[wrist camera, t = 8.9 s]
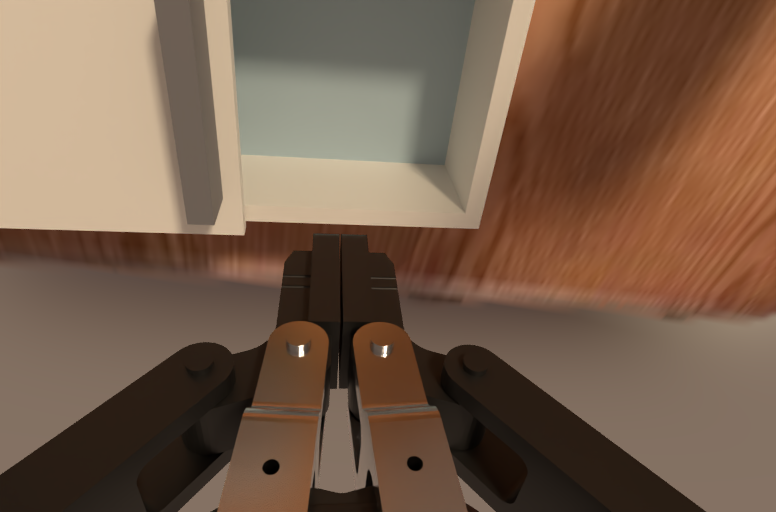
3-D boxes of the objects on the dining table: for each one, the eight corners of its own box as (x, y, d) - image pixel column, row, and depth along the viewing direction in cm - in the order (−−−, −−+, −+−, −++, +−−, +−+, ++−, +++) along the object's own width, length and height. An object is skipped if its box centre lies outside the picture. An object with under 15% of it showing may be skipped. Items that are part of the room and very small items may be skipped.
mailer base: (501, -63, 27) (547, -49, 21) (453, 173, 35) (478, 228, 29) (99, -112, 24) (31, -110, 18) (149, 158, 32) (112, 216, 27)
